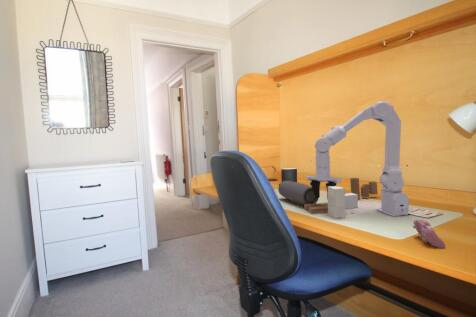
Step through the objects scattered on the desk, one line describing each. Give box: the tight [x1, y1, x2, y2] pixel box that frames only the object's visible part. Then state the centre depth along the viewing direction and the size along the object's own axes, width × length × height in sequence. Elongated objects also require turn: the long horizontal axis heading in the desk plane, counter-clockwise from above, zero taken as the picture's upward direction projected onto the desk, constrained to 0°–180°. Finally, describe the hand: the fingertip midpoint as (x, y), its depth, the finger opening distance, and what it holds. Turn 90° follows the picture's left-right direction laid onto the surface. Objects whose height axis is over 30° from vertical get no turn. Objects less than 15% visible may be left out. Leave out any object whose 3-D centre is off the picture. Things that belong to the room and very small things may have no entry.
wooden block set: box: [349, 177, 378, 200], centre depth 134 cm, size 18×9×10 cm, turn 84°
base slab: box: [303, 202, 328, 215], centre depth 113 cm, size 8×14×2 cm, turn 99°
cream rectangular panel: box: [345, 211, 356, 215], centre depth 108 cm, size 6×8×1 cm
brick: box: [345, 192, 359, 210], centre depth 117 cm, size 4×8×6 cm, turn 105°
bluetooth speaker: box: [277, 180, 320, 206], centre depth 129 cm, size 23×9×10 cm, turn 20°
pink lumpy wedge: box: [412, 219, 446, 249], centre depth 76 cm, size 10×5×7 cm, turn 163°
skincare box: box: [327, 185, 346, 220], centre depth 104 cm, size 6×4×12 cm
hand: (323, 198), depth 113 cm, fingers open, 5 cm apart
